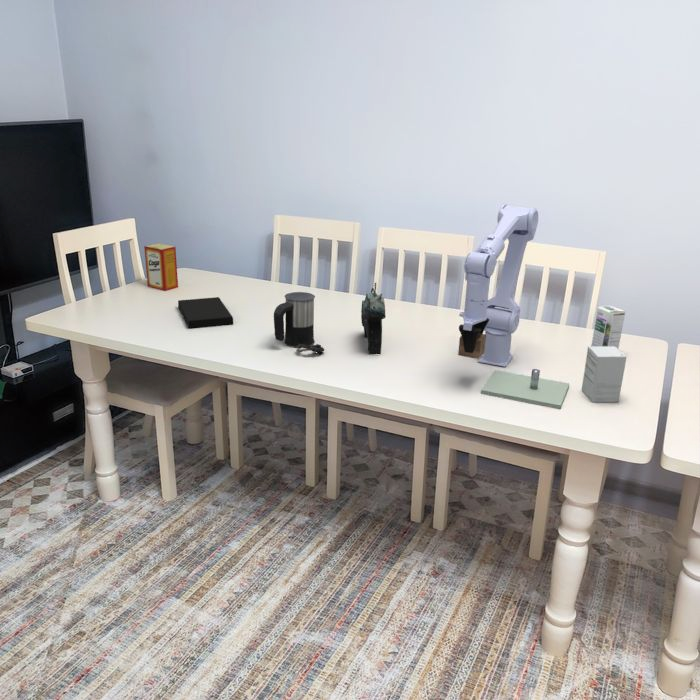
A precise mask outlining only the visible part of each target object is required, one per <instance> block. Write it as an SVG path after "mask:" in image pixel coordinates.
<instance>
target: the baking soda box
mask: <svg viewBox="0 0 700 700" xmlns="http://www.w3.org/2000/svg"><path fill="white" fill-rule="evenodd" d="M144 257H145V258H144V260H145V267H146V268H145V269H146V281H147V287H148V288H151V289H155V290H159V291H163V292H167V291H170V290H173V289H176V288H177V289H178V288H179V280H178V264H177V252H176V246H174V245H169V244H163V243H159V242H158V243H153V244H148V245H144Z"/></svg>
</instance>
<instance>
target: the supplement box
mask: <svg viewBox="0 0 700 700" xmlns="http://www.w3.org/2000/svg"><path fill="white" fill-rule="evenodd" d="M626 362H627V356H626V355H625V354H624V353H623V352H622V351H620V349H619V348H618V349H617V348H616V347H614V346H612V347H592V346H589V345H588V346H587V352H586V357H585V366H584V373H583V379H582V384H581V391H582V393H583V394H584V396H585V397H586V398H587V399H588V400H589V402H591V403H618V402H620V396H621V390H622V385H623V380H624V374H625V368H626Z"/></svg>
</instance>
